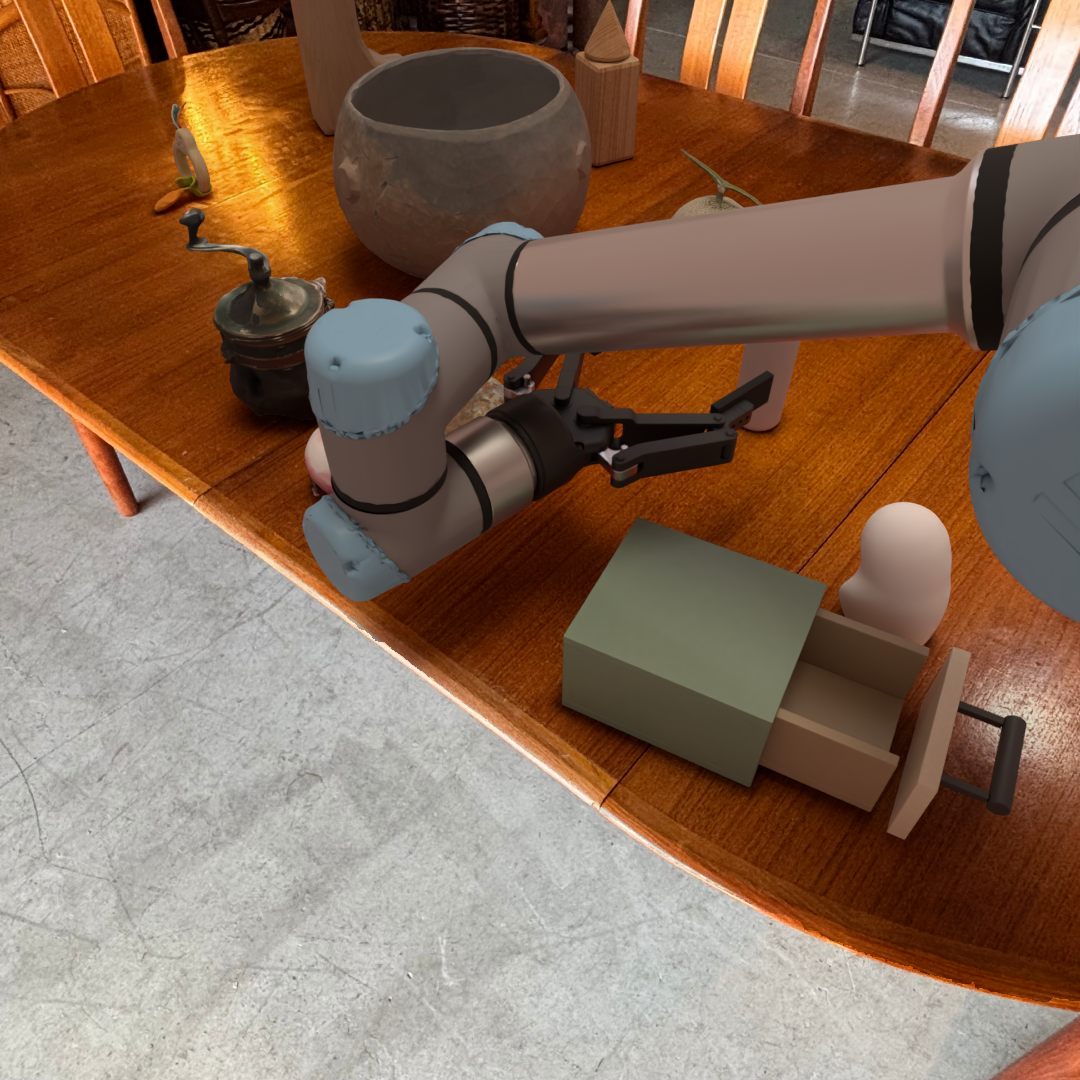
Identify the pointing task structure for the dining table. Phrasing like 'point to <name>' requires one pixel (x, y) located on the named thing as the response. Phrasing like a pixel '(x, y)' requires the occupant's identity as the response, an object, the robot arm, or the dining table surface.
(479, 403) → the brown rock
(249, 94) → the dining table surface
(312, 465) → the onion
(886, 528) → the figurine
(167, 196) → the rattle
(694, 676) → the cabinet
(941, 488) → the dining table surface
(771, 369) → the beverage can
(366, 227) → the clay pot
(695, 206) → the fruit
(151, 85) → the dining table surface
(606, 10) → the decorative item
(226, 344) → the coffee grinder
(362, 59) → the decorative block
